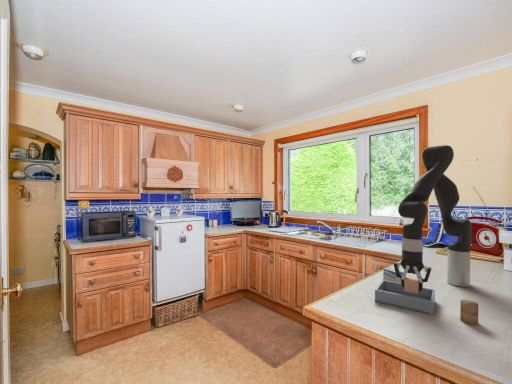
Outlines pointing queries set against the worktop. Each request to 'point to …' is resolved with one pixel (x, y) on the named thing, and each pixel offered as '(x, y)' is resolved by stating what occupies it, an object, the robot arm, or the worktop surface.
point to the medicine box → (391, 275)
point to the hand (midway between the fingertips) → (411, 289)
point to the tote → (405, 297)
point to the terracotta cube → (411, 284)
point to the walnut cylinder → (469, 312)
